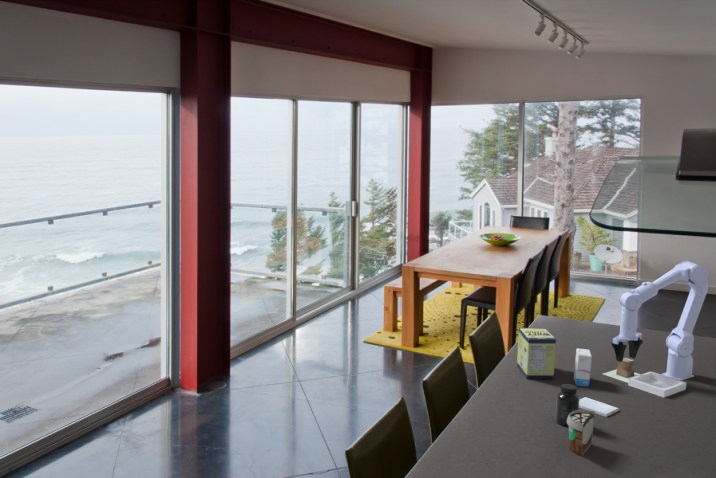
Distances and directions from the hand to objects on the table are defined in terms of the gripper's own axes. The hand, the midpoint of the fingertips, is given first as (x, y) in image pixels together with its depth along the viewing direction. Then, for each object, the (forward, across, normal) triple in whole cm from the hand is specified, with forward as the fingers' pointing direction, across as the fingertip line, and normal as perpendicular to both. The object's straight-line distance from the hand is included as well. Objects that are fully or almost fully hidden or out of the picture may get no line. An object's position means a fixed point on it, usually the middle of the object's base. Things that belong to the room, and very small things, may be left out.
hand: (625, 359), depth 267 cm
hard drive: (+7, -34, -14) cm, 38 cm away
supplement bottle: (+7, -52, -18) cm, 56 cm away
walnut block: (+6, 0, 0) cm, 6 cm away
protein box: (+7, -26, +21) cm, 34 cm away
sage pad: (+7, 0, 0) cm, 7 cm away
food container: (+7, -64, -31) cm, 71 cm away
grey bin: (+7, 0, -14) cm, 16 cm away
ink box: (+7, -19, +4) cm, 21 cm away
